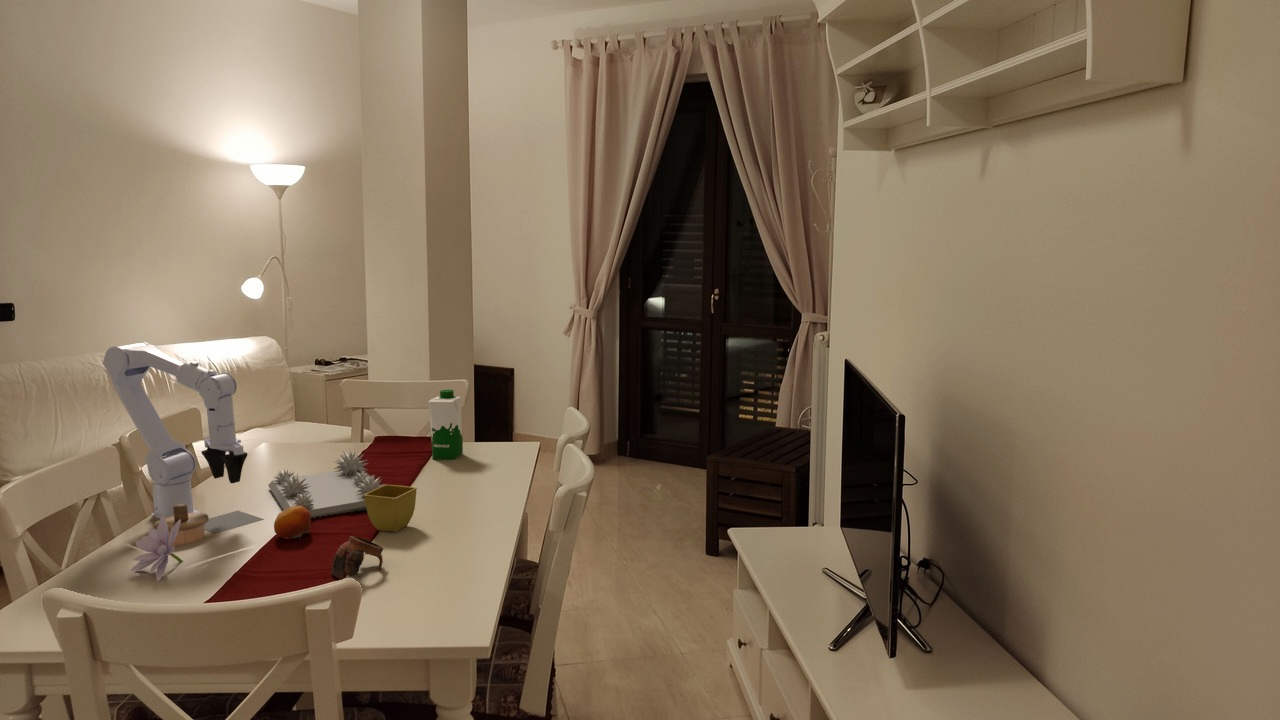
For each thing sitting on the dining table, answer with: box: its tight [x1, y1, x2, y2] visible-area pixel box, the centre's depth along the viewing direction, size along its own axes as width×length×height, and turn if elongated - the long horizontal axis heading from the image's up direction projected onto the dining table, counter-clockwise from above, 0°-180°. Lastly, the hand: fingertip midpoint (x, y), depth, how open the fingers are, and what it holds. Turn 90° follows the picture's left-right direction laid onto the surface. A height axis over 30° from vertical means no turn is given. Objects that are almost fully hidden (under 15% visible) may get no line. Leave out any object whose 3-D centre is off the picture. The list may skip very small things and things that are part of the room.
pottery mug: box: [331, 535, 384, 580], centre depth 179 cm, size 12×10×8 cm
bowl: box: [153, 525, 206, 547], centre depth 201 cm, size 10×10×4 cm
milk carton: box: [427, 389, 464, 461], centre depth 268 cm, size 9×9×20 cm
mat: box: [204, 510, 265, 535], centre depth 212 cm, size 12×12×1 cm
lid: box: [153, 504, 209, 532], centre depth 201 cm, size 11×11×4 cm
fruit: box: [273, 506, 312, 539], centre depth 202 cm, size 8×8×8 cm
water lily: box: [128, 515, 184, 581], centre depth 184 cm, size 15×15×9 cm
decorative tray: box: [267, 449, 386, 519], centre depth 230 cm, size 35×26×10 cm
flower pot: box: [364, 484, 417, 533], centre depth 205 cm, size 9×9×9 cm
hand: (226, 479), depth 213 cm, fingers open, 7 cm apart
